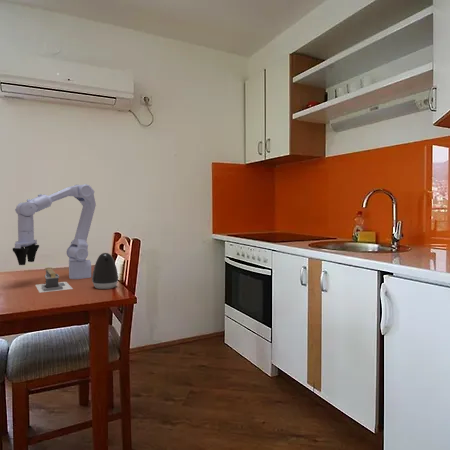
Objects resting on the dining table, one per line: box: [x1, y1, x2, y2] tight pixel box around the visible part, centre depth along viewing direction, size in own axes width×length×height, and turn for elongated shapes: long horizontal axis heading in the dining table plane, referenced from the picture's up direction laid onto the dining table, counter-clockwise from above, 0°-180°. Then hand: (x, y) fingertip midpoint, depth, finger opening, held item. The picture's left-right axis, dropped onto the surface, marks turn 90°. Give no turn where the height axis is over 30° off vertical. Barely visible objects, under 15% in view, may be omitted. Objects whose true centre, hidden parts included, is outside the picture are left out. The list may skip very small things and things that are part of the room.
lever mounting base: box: [35, 270, 74, 294], centre depth 144 cm, size 12×15×7 cm
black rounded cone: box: [91, 252, 119, 290], centre depth 145 cm, size 10×10×15 cm
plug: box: [44, 273, 60, 288], centre depth 141 cm, size 5×5×6 cm
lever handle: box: [44, 267, 56, 278], centre depth 143 cm, size 3×14×2 cm, turn 34°
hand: (26, 263), depth 147 cm, fingers open, 7 cm apart
